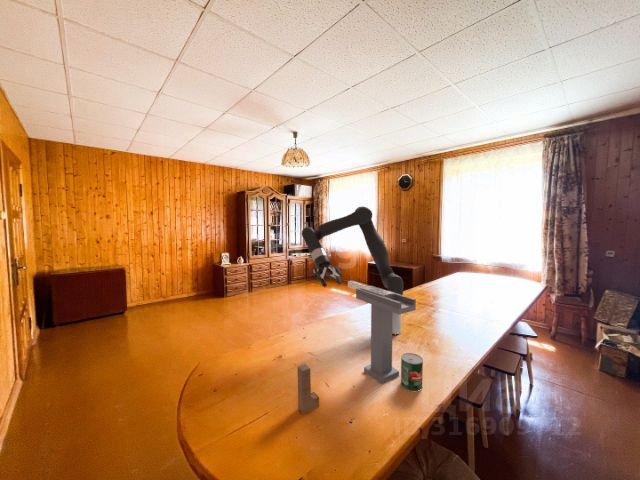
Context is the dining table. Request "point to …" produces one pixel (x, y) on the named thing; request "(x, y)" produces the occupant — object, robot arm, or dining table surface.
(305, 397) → the l-shaped bracket
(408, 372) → the canned tomato
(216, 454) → the dining table surface
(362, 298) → the stand
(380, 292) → the block
